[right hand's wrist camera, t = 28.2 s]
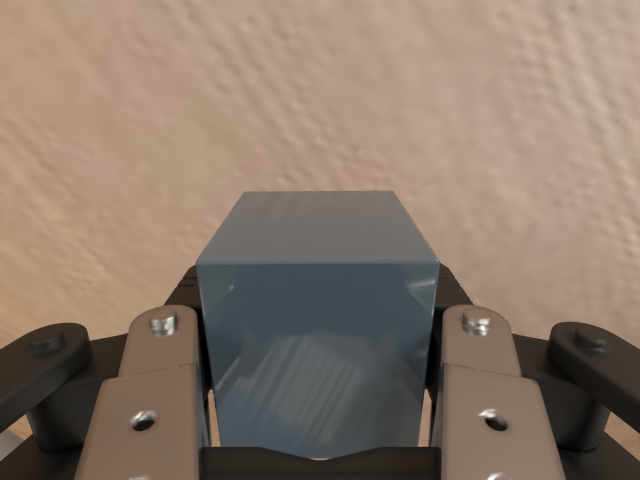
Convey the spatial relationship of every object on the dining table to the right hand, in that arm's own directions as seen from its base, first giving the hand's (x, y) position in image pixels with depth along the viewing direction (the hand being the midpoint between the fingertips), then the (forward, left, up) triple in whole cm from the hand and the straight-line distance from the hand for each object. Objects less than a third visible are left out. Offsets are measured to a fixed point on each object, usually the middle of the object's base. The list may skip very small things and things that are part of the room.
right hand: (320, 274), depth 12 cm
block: (0, 0, 0) cm, 0 cm away
